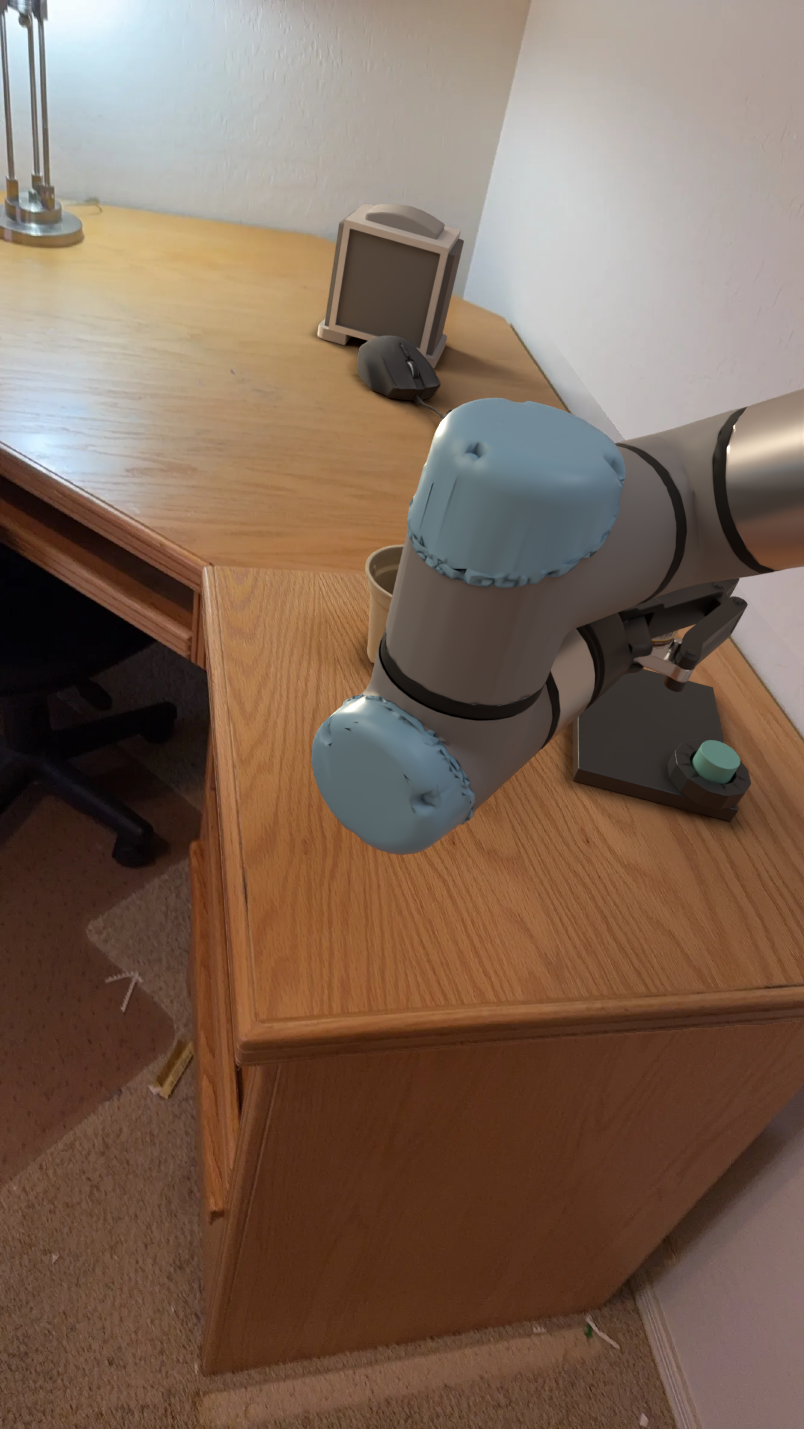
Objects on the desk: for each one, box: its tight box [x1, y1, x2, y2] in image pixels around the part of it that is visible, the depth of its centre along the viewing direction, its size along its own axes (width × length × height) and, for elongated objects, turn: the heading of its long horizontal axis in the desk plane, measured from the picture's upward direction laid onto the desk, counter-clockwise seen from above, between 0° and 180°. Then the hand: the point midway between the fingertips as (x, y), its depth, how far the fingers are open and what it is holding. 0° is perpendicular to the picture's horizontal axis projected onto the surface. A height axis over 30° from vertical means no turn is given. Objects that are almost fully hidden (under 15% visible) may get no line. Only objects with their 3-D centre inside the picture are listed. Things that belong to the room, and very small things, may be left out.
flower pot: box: [364, 544, 404, 664], centre depth 74 cm, size 9×9×9 cm
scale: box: [572, 668, 752, 822], centre depth 74 cm, size 16×14×3 cm
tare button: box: [692, 740, 741, 784], centre depth 69 cm, size 3×3×2 cm
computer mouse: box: [356, 336, 453, 424], centre depth 117 cm, size 10×32×6 cm, turn 29°
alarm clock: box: [317, 202, 465, 369], centre depth 131 cm, size 18×13×18 cm
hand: (694, 541), depth 64 cm, fingers closed on supplement bottle, 6 cm apart
